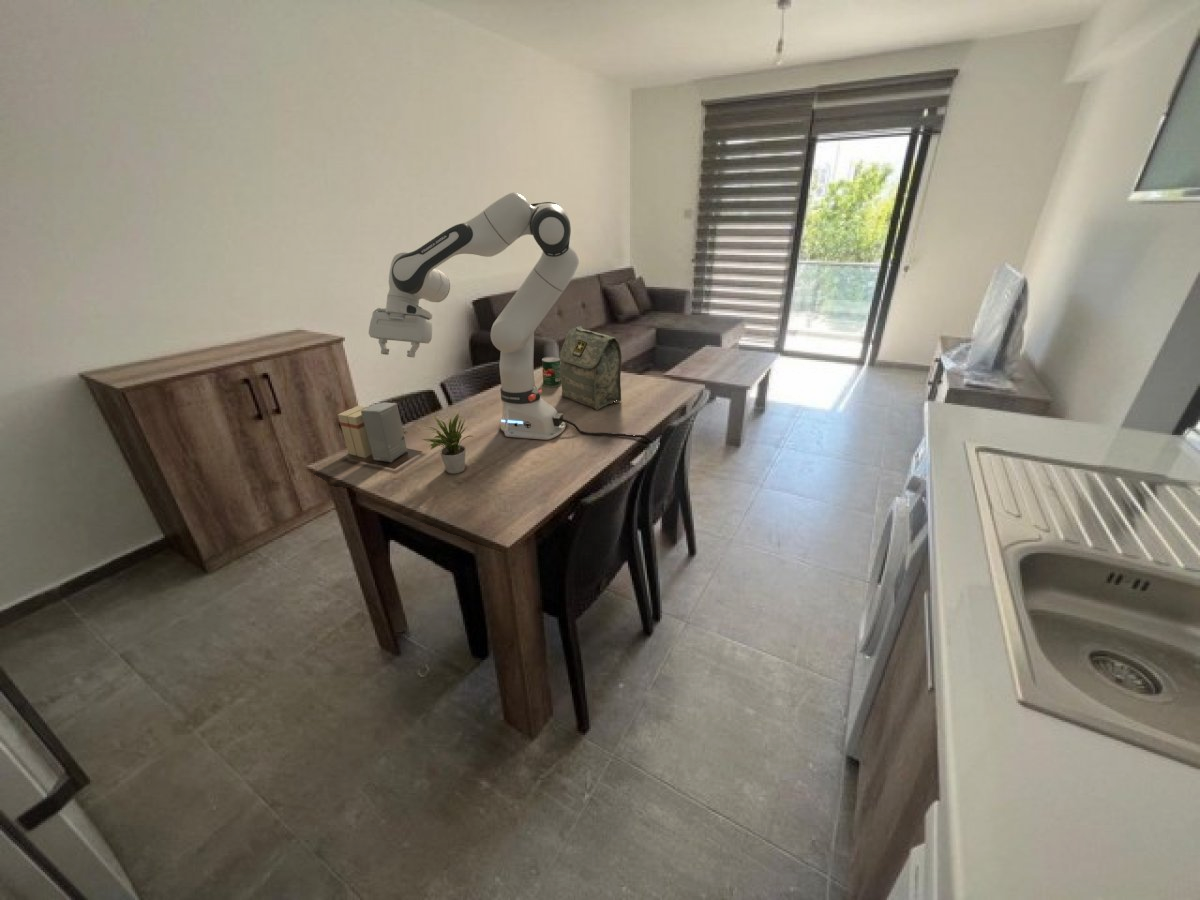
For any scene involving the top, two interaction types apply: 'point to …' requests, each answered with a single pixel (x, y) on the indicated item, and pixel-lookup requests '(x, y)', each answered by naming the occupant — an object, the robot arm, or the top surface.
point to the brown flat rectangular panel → (393, 465)
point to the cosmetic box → (384, 431)
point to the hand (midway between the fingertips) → (397, 355)
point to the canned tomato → (551, 371)
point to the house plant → (450, 445)
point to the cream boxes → (355, 432)
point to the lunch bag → (591, 368)
